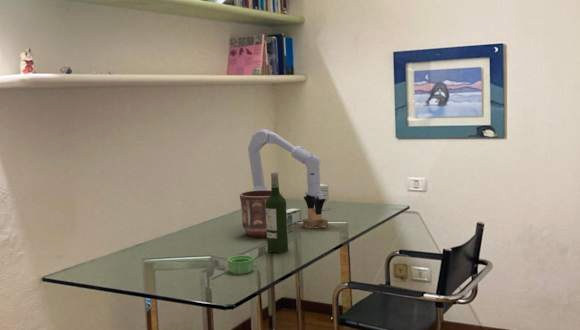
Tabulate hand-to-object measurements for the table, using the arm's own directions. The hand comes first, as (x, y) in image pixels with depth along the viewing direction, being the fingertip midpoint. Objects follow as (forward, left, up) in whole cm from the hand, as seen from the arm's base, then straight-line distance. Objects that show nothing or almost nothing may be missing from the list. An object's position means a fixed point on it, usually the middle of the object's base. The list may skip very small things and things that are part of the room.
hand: (314, 212), depth 275 cm
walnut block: (0, 0, -6) cm, 6 cm away
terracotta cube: (0, 0, -3) cm, 3 cm away
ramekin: (-52, -49, -6) cm, 72 cm away
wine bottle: (-31, -31, -6) cm, 44 cm away
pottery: (-26, -2, -6) cm, 27 cm away
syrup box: (-1, +17, -3) cm, 17 cm away
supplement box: (+20, +36, -6) cm, 42 cm away
